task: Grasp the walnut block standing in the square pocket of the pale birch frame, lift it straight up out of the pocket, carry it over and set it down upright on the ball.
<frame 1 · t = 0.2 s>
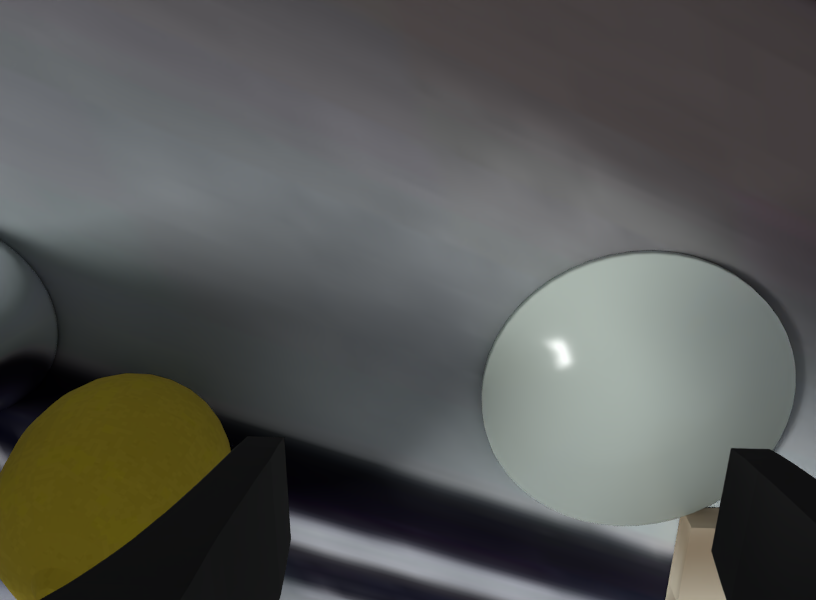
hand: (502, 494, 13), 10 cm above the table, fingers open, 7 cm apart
lemon: (171, 406, 24), on the table
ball: (633, 394, 23), on the table
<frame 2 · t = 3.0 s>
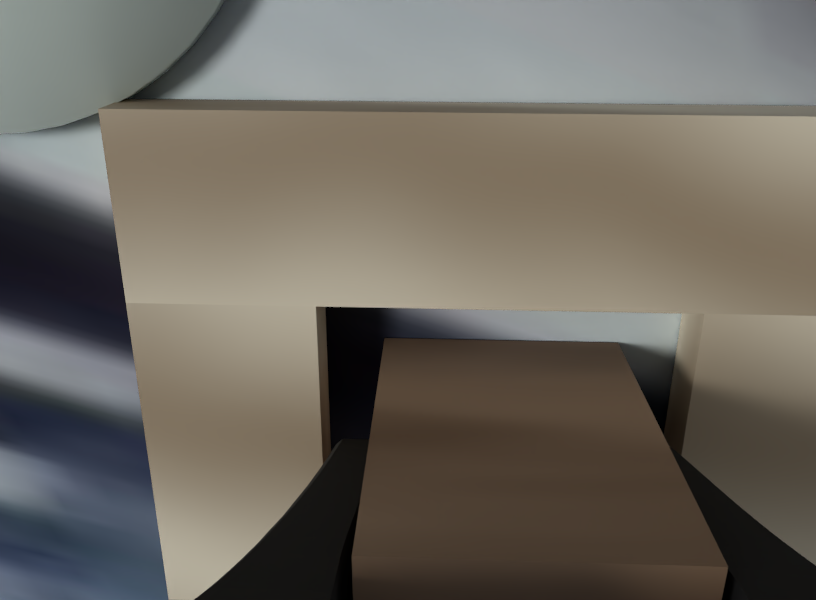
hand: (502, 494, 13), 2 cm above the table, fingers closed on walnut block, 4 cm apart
walnut block: (495, 439, 14), resting in pocket block, touching gripper
pocket block: (495, 440, 14), on the table
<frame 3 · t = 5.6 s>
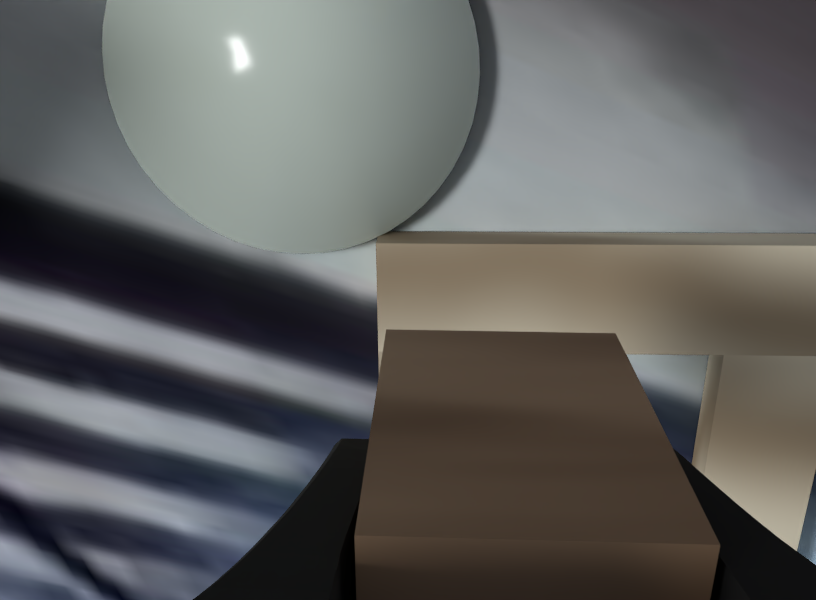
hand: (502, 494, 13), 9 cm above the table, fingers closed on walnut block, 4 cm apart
walnut block: (495, 429, 14), point 7 cm above the table, touching gripper
pocket block: (591, 432, 22), on the table
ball: (293, 72, 19), on the table
when the fingers open (3 cm above the table, at t = 8.4 s): walnut block stays where it is, resting on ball.
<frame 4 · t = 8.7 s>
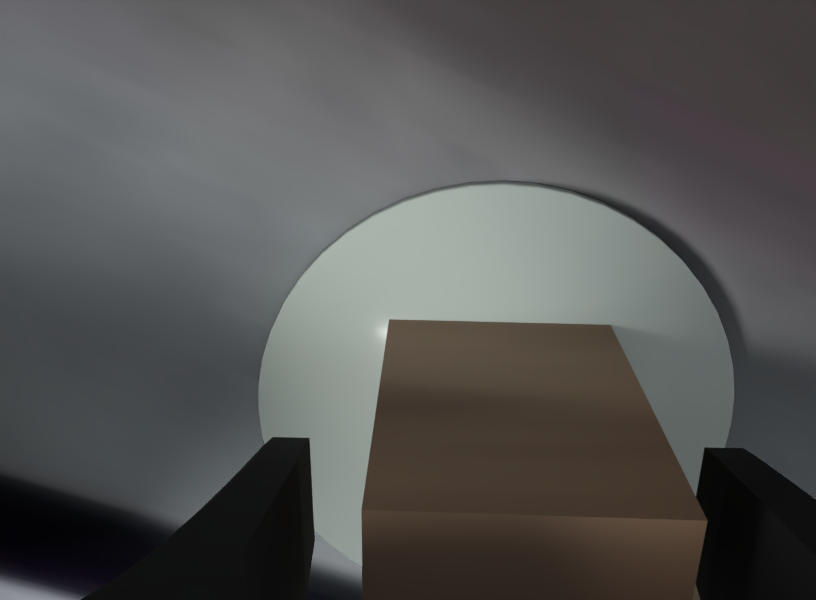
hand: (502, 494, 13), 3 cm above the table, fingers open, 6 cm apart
walnut block: (493, 417, 15), resting on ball
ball: (491, 406, 15), on the table
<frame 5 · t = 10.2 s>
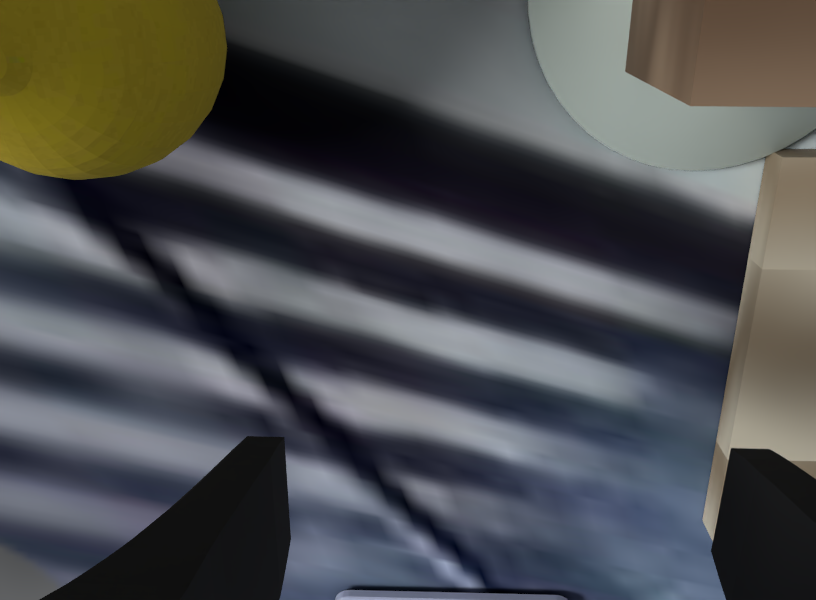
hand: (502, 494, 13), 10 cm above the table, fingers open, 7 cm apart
lemon: (154, 28, 20), on the table
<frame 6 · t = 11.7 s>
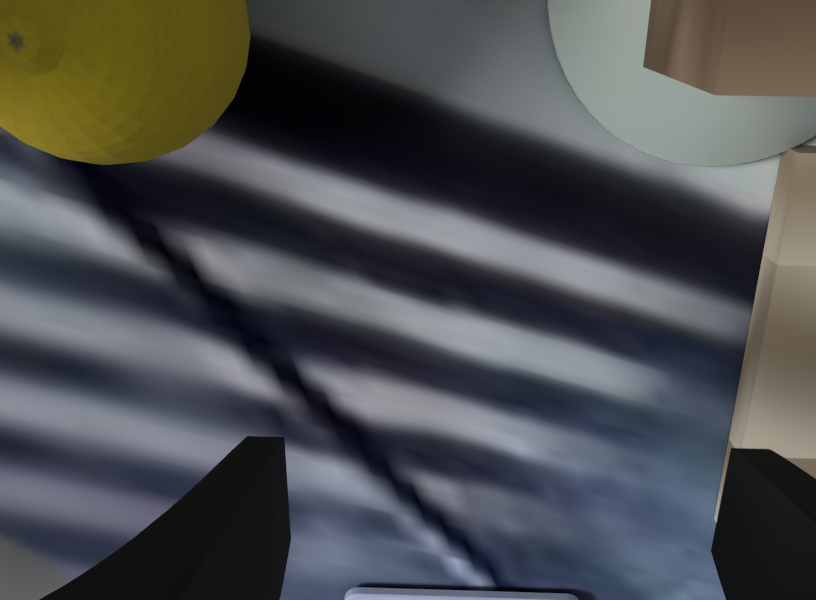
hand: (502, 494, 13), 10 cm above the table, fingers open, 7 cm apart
lemon: (174, 20, 20), on the table
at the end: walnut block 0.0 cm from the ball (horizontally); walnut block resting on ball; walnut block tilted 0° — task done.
